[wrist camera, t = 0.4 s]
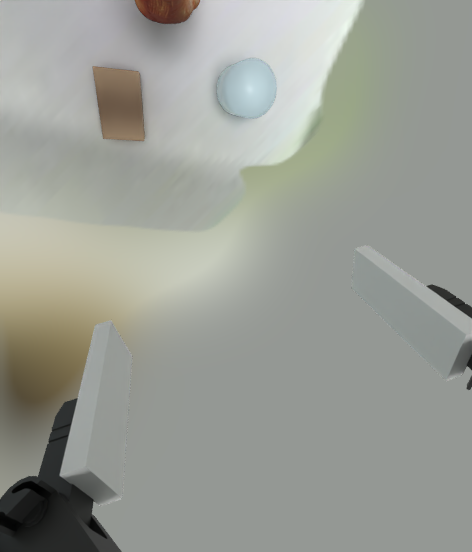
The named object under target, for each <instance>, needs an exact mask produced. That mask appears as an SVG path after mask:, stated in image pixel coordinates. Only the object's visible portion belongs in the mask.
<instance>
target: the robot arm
mask: <svg viewBox="0 0 472 552" xmlns="http://www.w3.org/2000/svg"><path fill="white" fill-rule="evenodd" d="M351 288H352V289H353V290H354V291H355V292H356V293H357V294H358V295H359V296H360V297H361V298H362V299H363V300H364V301H365V302H366V303H367V304H368V305H369V306H370V307H371V308H372V309H373V310H374V311H375V312H376V313H377V314H378V315H379V316H380V317H381V318H382V319H383V320H384V321H385V322H386V323H387V324H388V325H389V326H390V327H391V328H392V329H393V330H394V331H395V332H396V333H398V335H399V336H400V337H402V339H403V340H404V341H405V342H406V343H408V344H409V345H410V346H411V347H412V348H413V349H414V350H415V351H416V352H417V353H418V354H419V355H420V356H421V357H422V358H423V359H424V360H425V361H426V362H427V363H428V364H429V365H430V366H431V367H432V368H433V369H434V370H435V371H436V372H437V373H438V374H439V375H440V376H441V377H442V378H443V379H444V380H445V381H448V380H450V379H453V378H456V377H459V376H462V375H463V373H464V371H465V369H466V367H467V366H468V367H469V368H470V369H471V370H472V307H471V306H469V305H468V304H465V303H464V302H463V301H462V300H460V299H459V298H456V296H454V295H453V294H451V293H450V292H448V291H447V290H445V289H443V288H440V287H437V286H435V285H429V286H425V285H423V284H422V283H421V282H419V281H418V280H416V279H415V278H414V277H412V276H410V275H409V274H408V273H406V272H405V271H404V270H402V269H401V268H399V267H398V266H396V265H395V264H394V263H392V262H391V261H390V260H388V259H387V258H385V257H384V256H382V255H381V254H380V253H378V252H377V251H375V250H374V249H373V248H371V247H370V246H368V245H366V246H362V247H359V248H356V249H355V251H354V263H353V276H352V287H351ZM131 369H132V355H131V353H130V351H129V350H128V348H127V346H126V345H125V343H124V341H123V340H122V338H121V336H120V335H119V333H118V331H117V330H116V328H115V326H114V325H113V323H112V321H107V322H104V323H100V324H97V325H95V328H94V332H93V337H92V341H91V345H90V349H89V354H88V358H87V362H86V366H85V370H84V374H83V379H82V383H81V387H80V392H79V395H78V398H77V399H74V400H71V401H67V402H65V403H64V404H63V406H62V407H61V409H60V411H59V412H58V413H57V415H56V417H55V421H54V424H53V427H52V432H51V434H50V438H49V444H48V445H47V448H46V451H45V455H44V458H43V461H42V465H41V468H40V472H39V475H38V477H36V476H29V477H26V478H24V479H21V480H19V481H18V482H17V483H15V484H14V485H13V486H12V487H10V488H9V489H8V490H7V492H6V493H5V494H4V495H3V496H2V497H1V499H0V552H121V550H120V549H119V548H118V546H117V545H116V544H115V542H114V541H113V540H112V538H111V537H110V536H109V534H108V533H107V532H106V531H105V529H104V528H103V527H102V525H101V524H100V523H99V522H98V520H97V519H96V518H95V516H94V515H92V508H93V501H94V502H96V503H97V504H98V505H100V506H103V505H106V504H108V503H111V502H114V501H116V500H120V499H122V498H123V482H124V468H125V454H126V440H127V426H128V411H129V397H130V382H131ZM471 387H472V376H471V378H470V380H469V382H468V384H467V389H468V390H470V389H471Z"/></svg>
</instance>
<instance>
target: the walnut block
mask: <svg viewBox="0 0 472 552" xmlns="http://www.w3.org/2000/svg"><path fill="white" fill-rule="evenodd" d="M93 73H94V80H95V86H96V93H97V100H98V107H99V114H100V120H101V127H102V134H103V139H117V140H135V141H144V139H145V132H144V119H143V106H142V93H141V80H140V73H139V72H138V71H130V70H121V69H112V68H104V67H95V66H93Z"/></svg>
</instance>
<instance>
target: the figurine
mask: <svg viewBox="0 0 472 552" xmlns="http://www.w3.org/2000/svg"><path fill="white" fill-rule="evenodd" d="M135 2H136V5H137V7H138V9H139V10H140V12H141V13H142V14H143V15H144V16H145V17H146V18H148V19H150V20H152V21H155V22H158V23H162V24H176V23H181V22H184V21H186V20H187V19H188V18H189V17H190V15H191V13H192V11H193V10H194V9H196V8H197V6H198V5H199V2H200V0H135Z"/></svg>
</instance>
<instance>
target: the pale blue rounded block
mask: <svg viewBox="0 0 472 552" xmlns="http://www.w3.org/2000/svg"><path fill="white" fill-rule="evenodd" d="M275 96H276V79H275V76H274V73H273V71H272V69H271V68H270V66H269V65H268V64H267V63H265V62H264V61H262V60H260V59H257V58H249V59H245V60H243V61H241V62H238V63H236V64H233V65H231V66H229V67H227V68H226V69H225V70H224V71H223V72H222V74H221V75H220V77H219V80H218V83H217V97H218V100H219V103H220V105H221V106H222V108H223V109H224V110H225V111H226V112H228V113H229V114H232V115H235V116H240V117H245V118H258V117H260V116H262V115H264V114H265V113H266V112H267V111H268V110H269V109H270V108H271V106H272V104H273V102H274V100H275Z"/></svg>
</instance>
